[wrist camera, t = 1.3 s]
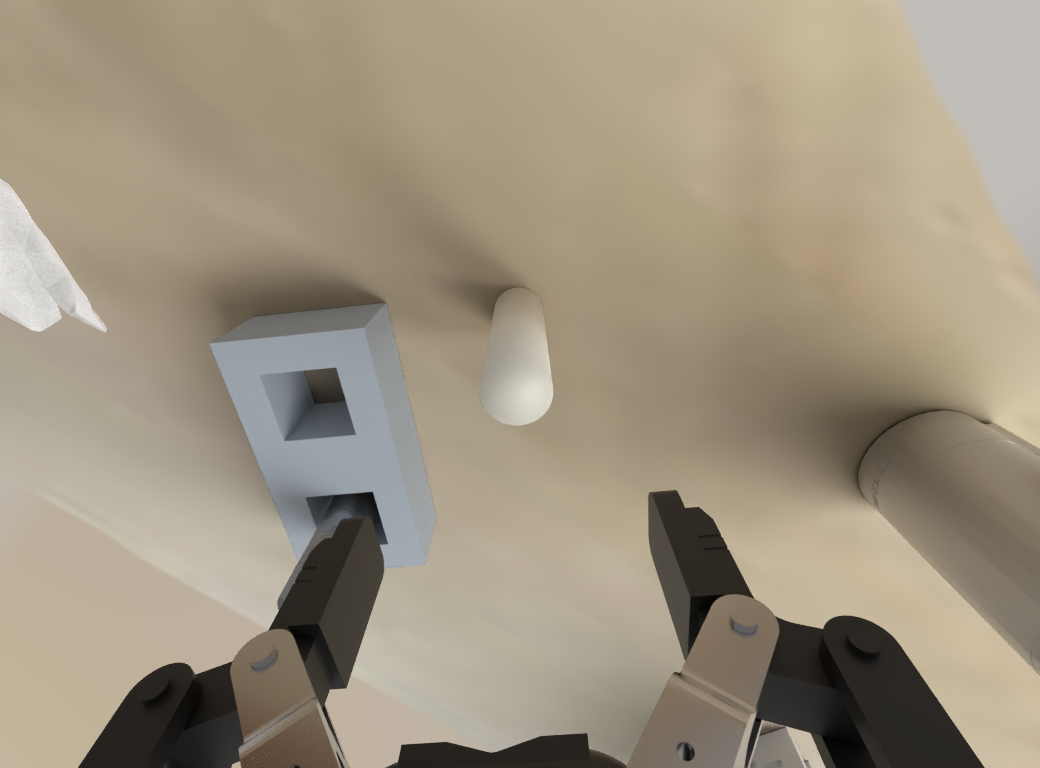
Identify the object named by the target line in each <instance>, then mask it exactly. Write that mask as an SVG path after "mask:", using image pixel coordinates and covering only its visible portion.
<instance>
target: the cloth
mask: <svg viewBox="0 0 1040 768" xmlns="http://www.w3.org/2000/svg"><path fill="white" fill-rule="evenodd" d="M57 304H58V305H59V306H60V307H61V308H62V309H63V310H64V311H65V312H66V313H67V314H68V315H70V316H72V317H75V318H77V319H79V320H81V321H83V322H85V323H87V324H89V325H91V326H93V327H95V328H97V329H99V330H101V331H102V332H104V333H107V331H106V329H107V328H106V327H105V325H104V324H103V322H102V321H101V319H100V318H99V316H98V315H97V314H96V313H95V312H94V310H93V308H92V306H91V304H90V302H89V300H88V299H87V297H86V296H85V295H84V293H83V292H82V291H81V289H80V288H79V287H78V285H77V284H76V282H75V281H74V279H73V277H72V276H71V274H70V273H69V271H68V270H67V268H66V266H65V265H64V263H63V262H62V260H61V259H60V257H59V256H58V254H57V253H56V251H55V250H54V248H53V247H52V245H51V244H50V242H49V240H48V239H47V238H46V237H45V236H44V234H43V233H42V232H41V231H40V229H39V228H38V227H37V226H36V224H35V223H34V221H33V220H32V218H31V216H30V215H29V213H28V211H27V210H26V208H25V206H24V205H23V203H22V202H21V200H20V199H19V198H18V196H17V195H16V193H15V192H14V191H13V189H12V188H11V186H10V185H9V184H7V183H6V182H4V181H3V180H1V179H0V313H1V314H3V315H5V316H6V317H8V318H10V319H12V320H14V321H16V322H17V323H19V324H21V325H23V326H25V327H26V328H28V329H30V330H34V331H39V332H41V331H43V330H44V329H46V328H48V327H49V326H51V325H52V324H54V323H56V322H57V321H59V320H60V319H62V317H61V314H60V311H59V308H58V305H57Z"/></svg>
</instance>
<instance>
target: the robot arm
mask: <svg viewBox="0 0 1040 768" xmlns="http://www.w3.org/2000/svg"><path fill="white" fill-rule="evenodd" d="M858 482H859V487H860V490H861V492H862V494H863V496H864V497H865V498H866V499H867V500H868V501H869V502H870V503H871V504H872V505H873V506H874V507H875V508H876V509H877V510H878V511H879V513H880V514H881V515H882V516H883V517H884V518H885V519H886V520H887V521H888V522H889V523H890V524H891V525H892V526H893V527H894V528H895V529H896V530H897V531H898V532H899V533H900V534H901V535H902V536H903V537H904V538H905V539H906V540H907V541H908V542H909V543H910V544H911V545H912V546H913V548H914V549H915V550H916V551H917V552H918V553H919V554H920V555H921V556H922V557H923V558H924V559H925V560H926V561H927V562H928V563H929V564H930V565H931V566H932V567H933V568H934V569H935V570H936V571H937V572H938V573H939V574H940V575H941V576H942V577H943V578H944V579H945V580H946V581H947V582H948V583H949V584H950V585H951V586H952V587H953V588H954V589H955V590H956V591H957V592H958V593H959V594H960V595H961V596H962V597H963V598H964V599H965V600H966V601H967V602H968V603H969V604H970V605H971V606H972V607H973V608H974V609H975V610H976V611H977V612H978V613H979V614H980V615H981V616H982V617H983V618H984V619H985V620H986V622H987V623H988V624H989V625H990V626H991V627H992V628H993V629H994V630H995V631H996V632H997V633H998V634H999V635H1000V636H1001V637H1002V638H1003V639H1004V640H1005V641H1006V642H1007V643H1008V644H1009V645H1010V646H1011V647H1012V648H1013V649H1014V650H1015V651H1016V652H1017V653H1018V654H1019V655H1020V656H1021V657H1022V658H1023V659H1024V660H1025V661H1026V662H1027V663H1028V664H1029V665H1030V666H1031V667H1032V668H1033V669H1034V670H1035V671H1036V672H1037V673H1038V674H1039V675H1040V449H1039V448H1037V447H1036V446H1034V445H1032V444H1030V443H1029V442H1027V441H1025V440H1023V439H1022V438H1020V437H1018V436H1016V435H1015V434H1013V433H1011V432H1009V431H1008V430H1006V429H1004V428H1003V427H1001V426H999V425H997V424H994V423H993V424H983V423H981V422H979V421H978V420H976V419H974V418H973V417H971V416H969V415H966V414H963V413H960V412H955V411H946V410H945V411H932V412H928V413H924V414H919V415H916V416H914V417H911V418H909V419H906V420H904V421H902V422H900V423H899V424H897V425H895V426H893V427H892V428H890V429H889V430H888V431H886V432H885V433H884V434H883V435H881V436H880V437H879V438H878V439H877V440H876V441H875V442H874V443H873V445H872V446H871V447H870V448H869V450H868V451H867V453H866V454H865V456H864V458H863V460H862V462H861V465H860V468H859V475H858ZM648 517H649V544H650V550H651V554H652V558H653V561H654V564H655V567H656V570H657V574H658V577H659V580H660V583H661V586H662V589H663V592H664V596H665V599H666V602H667V605H668V608H669V611H670V614H671V618H672V621H673V624H674V627H675V630H676V633H677V636H678V640H679V643H680V646H681V649H682V652H683V655H684V659H685V664H684V666H683V668H682V670H681V671H680V673H677V672H674V673H673V674H672V675H671V677H670V678H669V680H668V682H667V684H666V686H665V688H664V690H663V692H662V694H661V696H660V699H659V701H658V703H657V705H656V707H655V709H654V711H653V713H652V715H651V717H650V719H649V721H648V723H647V725H646V728H645V730H644V732H643V734H642V736H641V738H640V740H639V742H638V744H637V746H636V748H635V750H634V752H633V755H632V757H631V759H630V761H629V763H628V765H627V766H626V765H625V764H623V763H622V762H620V761H618V760H617V759H615V758H613V757H611V756H609V755H606V754H604V753H601V752H598V751H594V750H590V749H589V746H588V736H587V733H584V734H568V735H552V736H540V737H537V738H534V739H532V740H529V741H526V742H523V743H520V744H518V745H515V746H512V747H509V748H506V749H504V750H501V751H498V752H493V753H490V752H485V751H481V750H477V749H473V748H469V747H465V746H461V745H457V744H452V743H448V742H439V743H424V744H407V745H402V746H401V750H400V755H399V760H398V762H397V763H395V764H392V765H390V766H388V767H386V768H750V765H751V761H752V758H753V755H754V751H755V748H756V745H757V741H758V738H759V735H760V731H761V728H762V725H763V721H764V720H765V721H769V722H773V723H776V724H780V725H784V726H787V727H791V728H795V729H798V730H802V731H806V732H809V733H811V735H812V737H813V740H814V742H815V744H816V746H817V749H818V751H819V753H820V756H821V758H822V760H823V763H824V765H825V767H826V768H984V766H983V765H982V763H981V762H980V760H979V759H978V758H977V756H976V755H975V753H974V752H973V750H972V749H971V747H970V746H969V744H968V743H967V742H966V740H965V739H964V737H963V736H962V734H961V733H960V731H959V730H958V729H957V727H956V726H955V724H954V723H953V721H952V720H951V718H950V717H949V716H948V714H947V713H946V711H945V710H944V708H943V707H942V705H941V704H940V702H939V701H938V700H937V698H936V697H935V695H934V694H933V692H932V691H931V689H930V688H929V687H928V685H927V684H926V682H925V681H924V679H923V678H922V676H921V675H920V673H919V672H918V671H917V669H916V668H915V666H914V665H913V663H912V662H911V660H910V659H909V658H908V656H907V655H906V653H905V652H904V650H903V649H902V647H901V646H900V645H899V643H898V642H897V641H896V639H895V638H894V637H893V636H892V635H891V634H889V633H888V632H887V631H886V630H884V629H883V628H881V627H880V626H878V625H876V624H874V623H873V622H870V621H868V620H865V619H862V618H859V617H854V616H838V617H834V618H832V619H830V620H829V621H828V622H827V623H826V624H825V626H824V629H820V628H815V627H810V626H805V625H800V624H795V623H791V622H788V621H785V620H782V619H780V618H778V617H776V616H774V614H773V613H772V612H771V611H770V610H769V608H767V607H766V606H765V605H764V604H762V603H761V602H759V601H758V600H755V599H754V597H753V596H752V594H751V592H750V590H749V588H748V586H747V584H746V582H745V580H744V578H743V576H742V574H741V573H740V571H739V569H738V567H737V565H736V563H735V561H734V559H733V557H732V555H731V553H730V551H729V549H727V545H726V543H725V541H724V540H723V538H722V537H721V534H720V532H719V530H718V528H717V526H716V524H715V522H714V520H713V519H712V518H711V517H710V516H709V515H707V514H706V513H705V512H704V511H703V510H702V509H700V508H699V507H694V508H685V507H684V504H683V502H682V500H681V498H680V496H679V494H678V492H677V491H676V490H671V491H660V492H650V493H649V497H648ZM383 574H384V558H383V554H382V550H381V547H380V544H379V541H378V538H377V535H376V532H375V528H374V525H373V522H372V520H371V518H370V517H357V518H345V519H342V520H341V521H340V522H339V524H338V526H337V528H336V530H335V532H334V534H333V536H332V538H324V539H323V540H322V541H321V542H320V543H319V544H318V545H317V546H316V547H315V548H314V549H313V550H312V551H311V552H310V553H309V555H308V557H307V559H306V561H305V563H304V565H303V567H302V571H300V572H299V574H298V576H297V578H296V580H295V584H293V585H292V587H291V589H290V591H289V593H288V595H287V597H286V598H285V600H284V602H283V604H282V606H281V608H280V610H279V612H278V614H277V615H276V617H275V619H274V621H273V623H272V625H271V627H270V629H269V630H268V631H267V632H264V633H262V634H260V635H258V636H256V637H255V638H253V639H251V640H250V641H249V642H248V643H246V644H245V645H244V646H243V647H242V648H241V649H240V651H239V652H238V653H237V655H236V656H235V658H234V660H233V661H232V662H229V663H227V664H224V665H222V666H219V667H216V668H213V669H210V670H207V671H205V672H202V673H199V674H196V675H195V673H194V672H193V670H192V669H191V667H190V666H189V665H187V664H185V663H173V664H169V665H166V666H163V667H161V668H159V669H157V670H155V671H153V672H152V673H150V674H149V675H147V676H146V677H144V678H143V679H142V680H141V681H140V682H138V683H137V684H136V685H135V686H134V687H133V689H132V690H131V691H130V692H129V693H128V695H127V696H126V698H125V699H124V700H123V702H122V703H121V705H120V706H119V708H118V709H117V711H116V712H115V714H114V715H113V717H112V718H111V720H110V721H109V723H108V724H107V726H106V727H105V729H104V730H103V731H102V733H101V735H100V736H99V737H98V739H97V740H96V742H95V743H94V745H93V746H92V748H91V749H90V751H89V752H88V754H87V755H86V757H85V758H84V760H83V761H82V763H81V764H80V766H79V767H78V768H231V766H232V764H234V763H236V762H238V761H240V763H241V768H350V767H349V765H348V762H347V760H346V757H345V754H344V752H343V749H342V746H341V744H340V741H339V738H338V736H337V733H336V730H335V728H334V725H333V723H332V720H331V717H330V715H329V712H328V710H327V707H326V705H325V702H326V699H327V696H328V693H329V690H330V689H343V688H346V687H347V685H348V681H349V678H350V675H351V672H352V669H353V666H354V663H355V660H356V657H357V654H358V651H359V648H360V645H361V642H362V639H363V636H364V633H365V630H366V627H367V624H368V621H369V618H370V615H371V612H372V609H373V606H374V603H375V600H376V597H377V594H378V591H379V588H380V584H381V581H382V578H383Z"/></svg>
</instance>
